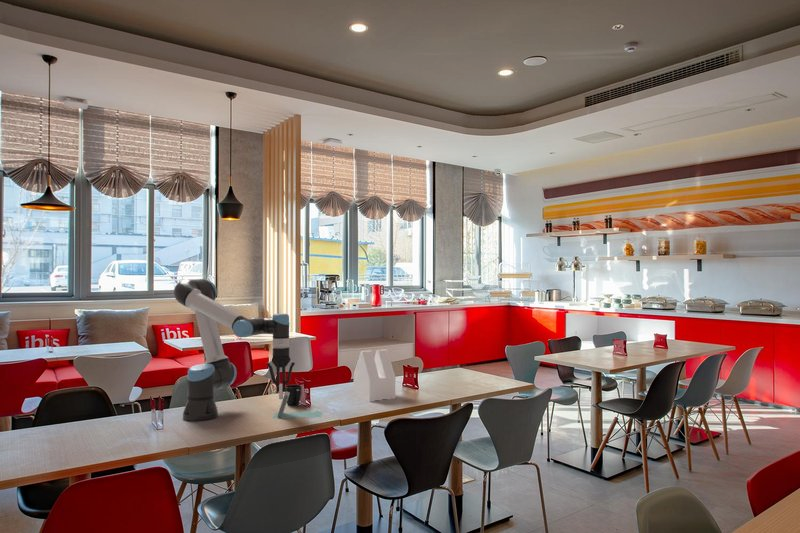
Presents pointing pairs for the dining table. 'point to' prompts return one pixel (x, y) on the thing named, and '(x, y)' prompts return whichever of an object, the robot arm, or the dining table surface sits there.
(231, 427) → the dining table surface
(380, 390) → the white slotted block
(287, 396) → the tile
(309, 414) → the mat
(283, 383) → the robot arm
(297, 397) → the mug
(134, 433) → the dining table surface
